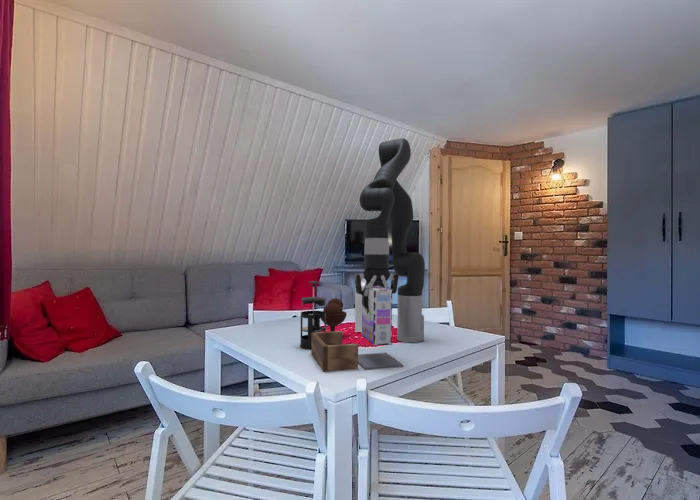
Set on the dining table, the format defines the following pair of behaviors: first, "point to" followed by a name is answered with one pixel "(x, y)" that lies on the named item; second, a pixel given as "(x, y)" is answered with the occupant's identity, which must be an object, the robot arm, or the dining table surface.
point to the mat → (377, 361)
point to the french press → (312, 319)
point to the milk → (358, 309)
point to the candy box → (378, 316)
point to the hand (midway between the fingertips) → (376, 307)
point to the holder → (333, 351)
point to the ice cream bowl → (334, 313)
